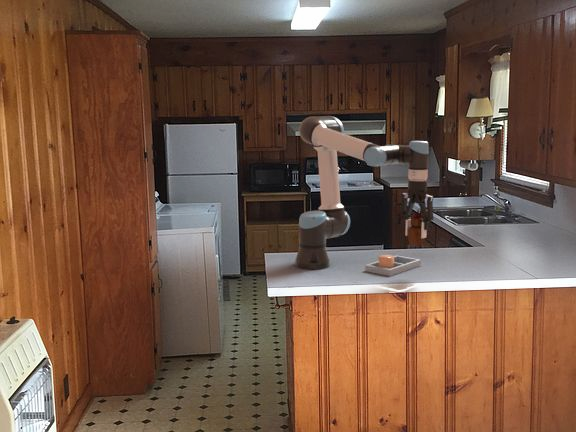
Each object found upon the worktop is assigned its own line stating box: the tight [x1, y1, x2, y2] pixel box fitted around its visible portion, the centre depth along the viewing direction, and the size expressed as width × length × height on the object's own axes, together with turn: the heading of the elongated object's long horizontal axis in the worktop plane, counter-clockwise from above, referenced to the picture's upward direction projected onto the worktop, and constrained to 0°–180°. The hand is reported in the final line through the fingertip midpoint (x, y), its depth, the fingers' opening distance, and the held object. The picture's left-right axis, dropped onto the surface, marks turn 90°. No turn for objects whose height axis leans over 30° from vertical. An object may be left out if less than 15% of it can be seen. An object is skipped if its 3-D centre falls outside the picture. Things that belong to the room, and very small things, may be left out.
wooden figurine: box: [407, 209, 425, 246], centre depth 260 cm, size 7×6×15 cm
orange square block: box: [378, 254, 395, 269], centre depth 268 cm, size 6×6×6 cm
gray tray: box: [364, 255, 422, 277], centre depth 273 cm, size 12×24×4 cm, turn 138°
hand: (415, 236), depth 260 cm, fingers closed on wooden figurine, 7 cm apart
